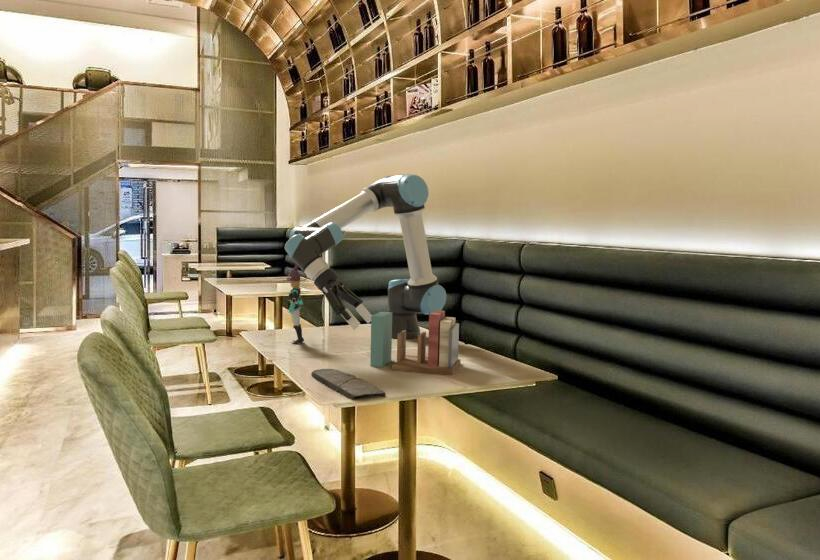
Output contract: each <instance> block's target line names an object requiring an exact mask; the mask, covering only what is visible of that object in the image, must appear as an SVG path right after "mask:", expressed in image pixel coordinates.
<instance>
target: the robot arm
mask: <svg viewBox="0 0 820 560" xmlns="http://www.w3.org/2000/svg"><path fill="white" fill-rule="evenodd" d="M428 198H429V188H428V184H427V183H426V181H425V180H424V178H422V177H421V176H420V175H417V174H412V173H411V174H409V173H407V174H406V173H405V174H397V175H387V176H384V177H382V178H380V179H378V180H376V181H374V182H373V183H371V184H369V185H367V186H366V187H363V188H362V189H361V190H360V193H359V194H357V195H356V196H354V197H352V198H351V199H348V200H347V201H345V202H344V203H341V204H340V205H338V206H336V207H335V208H333V209H331V210H329V211H328V212H326V213H324V214H322V215H320V216H319V217H317V218H315V219H314V220H312V221H309V222H308V223H307V224H305V225H303V226H302V225H299V226H295V227H294V228H293V229H291V231H290V233H289V239H288V240H287V241H286V243H285V244H284V250H285V252H286V253H287V255H288V256H289V257H290V259H292V260H293V262H294V263H295V264H297V265H298V268H300V269H301V271H302V272H303V273H304V274H305V275H306V278H307V279H310V280H311V282H313V284H314V285H315V286H316V288H317V289H318V290H319V291H321V292H322V294H323V295H324V296H325V298H326V300H327V302H328V303H329V305H330V307H331V308H332V309H331V310H333V312H334V313H335V314H336V316H339V315H341V317H342V318H343V319H344V320H345V321H346V323H348V326H350V327H351V328H352V330H354V331H355V330H356V329H357V328H358V327H359V326H360V325H361V322H360V321H359V319H357V318H356V317H355V316H354V314H353V313H352V312H351V311H350V310H349V309H348V308H347V307H345V304H344V301H346V302H347V303H348V304H349V305H351V306H352V307H354V309H355V312H357V313H358V314H359V315H360V317H362V319H363V320H364V321H365V322H366V323H367V324H369V323H371V316H372V315H373V314H371V312H370V311H369V310H368V309H367V308H366V307H365V306H364V304H363V303H364V301H363V299H361V298H360V297H359V296H358V295H356V294H355V293H354V291H351V290H350V289H349V288H348V287H347V286H346V285H345V283H343V282H342V281H340V282H339V283H338V282H337V280H338V274H337V273H336V271H335V270H333V268H331V267H330V265H329V264H328V262H326V260H325V259H324V258H323V257H322V256H321V255H323V254H324V253H326V252H327V251H329V250H330V249H332V248H334V247H337V245H338V244H339V243H341V242H342V241H343V240H344V239H343V238H344V234H343V233H344V232H343V231H342V228H345V227H347V226H349V225H350V224H352V223H353V222H355V221H356V220H358V219H361V217H363V216H364V215H367V214H368V213H370V212H376V211H379V210H381V209H383V208H391V207H392V208H393V213H394V215H395V216H397V217H398V219H399V223H400V229H401V234H402V238H403V245H404V250H405V255H406V260H407V261H406V262H407V267H408V271H409V277H410V278H404V279H403V278H399V279H391V280H390V281H389V282H388V286H387V287H388V288H387V312H392V339H397V334H398V333H400V332H401V331H403V330H404V331H406V339H414V338H415V339H417V338H418V335H419V334H421V329H420V326H419V321H418V317H417V314H423V315H427V316H429V314H430V313H432V312H434V311H435V310H441V311H443V308H444V306H445V304H446V303H447V302H446V301H447V292H446V289H445V288H444V287H443V286H442V285H440V284H439V281H438V278H437V276H436V275H435V274H434V273H433V269H432V264H431V258H430V253H429V247H428V241H427V234H426V230H425V223H424V219H423V218H424V217H423V214H422V213H423V212H424V210H425V209H426V206H425V204H426V202H427V201H428Z"/></svg>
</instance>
